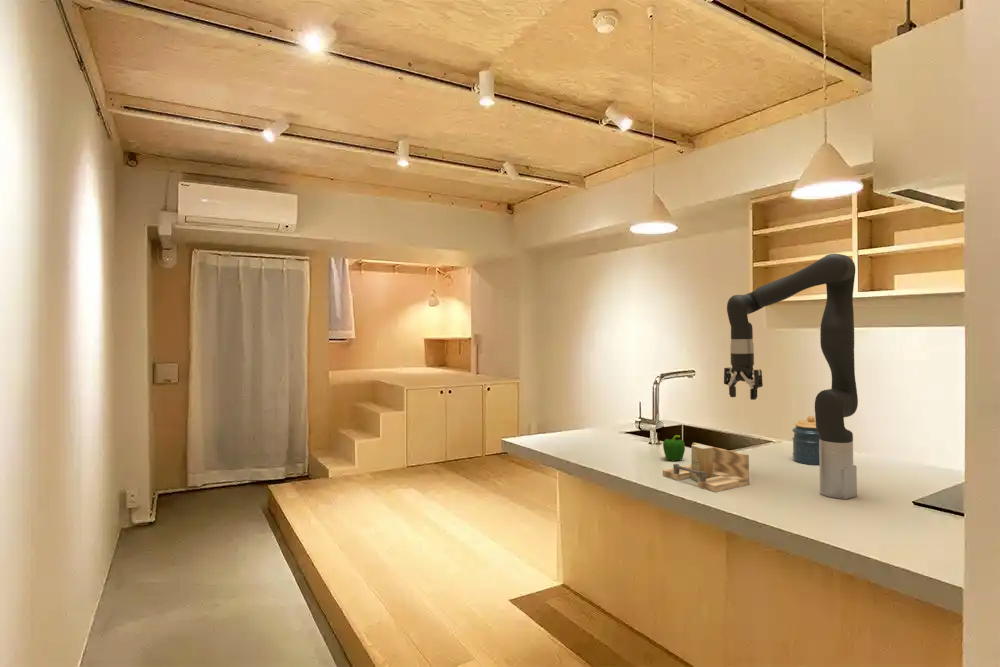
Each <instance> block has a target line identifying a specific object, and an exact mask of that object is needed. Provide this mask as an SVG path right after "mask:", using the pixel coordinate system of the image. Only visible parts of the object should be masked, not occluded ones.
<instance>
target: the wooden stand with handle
mask: <svg viewBox="0 0 1000 667" xmlns="http://www.w3.org/2000/svg"><path fill="white" fill-rule="evenodd" d="M696 444H699V443H698V442H692V444H691V445H696ZM701 444H702V443H701ZM702 445H704V444H702ZM705 445H706V444H705ZM706 446H709V447H713V478H708V479H706V472H704V471H701V472H700V471H696V470H693V469H691V465H692V464H687V465H683V466H682V465H680V464H679V463H674V464H673V466H672V467H671V468H667V469H662V476H663V477H667V478H670V479H672V480H676V481H681V480H683V481H684V480H687V479H691V472H692V473H696V474H699V475H700V480H699V481H697V487H699V488H701V489H705V490H707V491H711V492H714V493H717V492H722V491H726V490H731V489H735V488H741V487H743V486H744V487H745V486H748V485H750V460H749V459H750V456H749V454H746V453H741V452H738V451H733V450H730V449H729V450H727V449H725V448H720V447H715V446H711V445H706Z"/></svg>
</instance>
